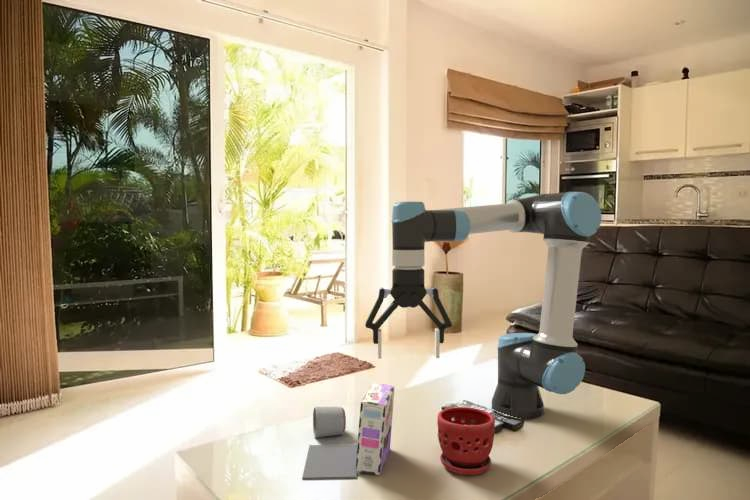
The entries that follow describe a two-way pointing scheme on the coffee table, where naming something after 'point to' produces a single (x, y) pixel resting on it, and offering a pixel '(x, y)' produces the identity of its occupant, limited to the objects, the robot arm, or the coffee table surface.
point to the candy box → (375, 428)
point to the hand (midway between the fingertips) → (408, 357)
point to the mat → (331, 462)
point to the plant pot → (465, 439)
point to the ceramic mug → (328, 421)
